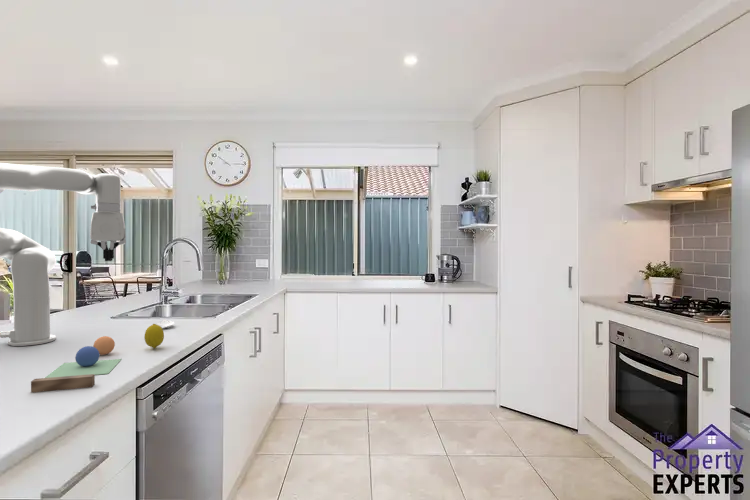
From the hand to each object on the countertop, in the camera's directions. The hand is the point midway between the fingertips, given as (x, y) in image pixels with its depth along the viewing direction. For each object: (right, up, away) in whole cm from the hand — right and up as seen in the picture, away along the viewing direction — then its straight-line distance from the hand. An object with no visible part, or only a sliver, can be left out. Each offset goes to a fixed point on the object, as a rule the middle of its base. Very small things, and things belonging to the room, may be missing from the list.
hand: (108, 260), depth 152 cm
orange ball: (+13, -25, -23) cm, 36 cm away
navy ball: (+16, -25, -35) cm, 46 cm away
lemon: (+24, -28, -15) cm, 40 cm away
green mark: (+17, -28, -37) cm, 49 cm away
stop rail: (+22, -29, -52) cm, 63 cm away
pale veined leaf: (+11, -27, +17) cm, 34 cm away
